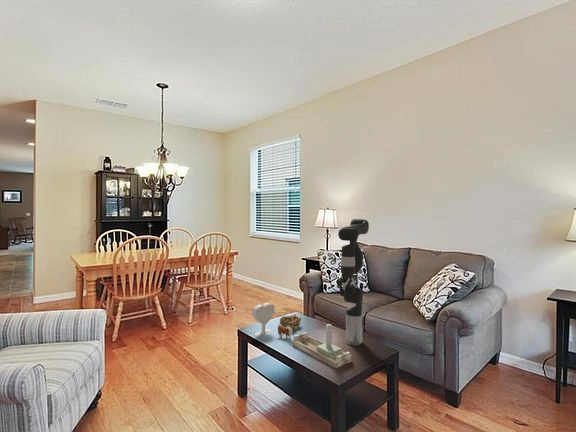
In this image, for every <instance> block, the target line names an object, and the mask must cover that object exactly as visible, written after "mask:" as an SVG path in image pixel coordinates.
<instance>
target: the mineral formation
mask: <svg viewBox="0 0 576 432" xmlns="http://www.w3.org/2000/svg"><path fill="white" fill-rule="evenodd" d="M302 319H303V318H302V317H299V316H297V314H296V313H295V314H291V315H289V316H287V315H283V316H282V317H280V318H279V325H281V326H284V327H290V328H292V329H294V330H295V331H296V330H297V328H299V327H300V325H301V321H302Z"/></svg>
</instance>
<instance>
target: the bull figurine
mask: <svg viewBox="0 0 576 432" xmlns="http://www.w3.org/2000/svg"><path fill="white" fill-rule="evenodd" d="M294 330H295V329H292V328H290V327H284V326H282V325H280V324H279V325H278V326H277V333H278V335H279V338H280V339H283V338H282V337H283V335H285V339H287V338H288V337H289V339H291V338H292V337H291V335H292V334H293V331H294Z"/></svg>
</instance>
